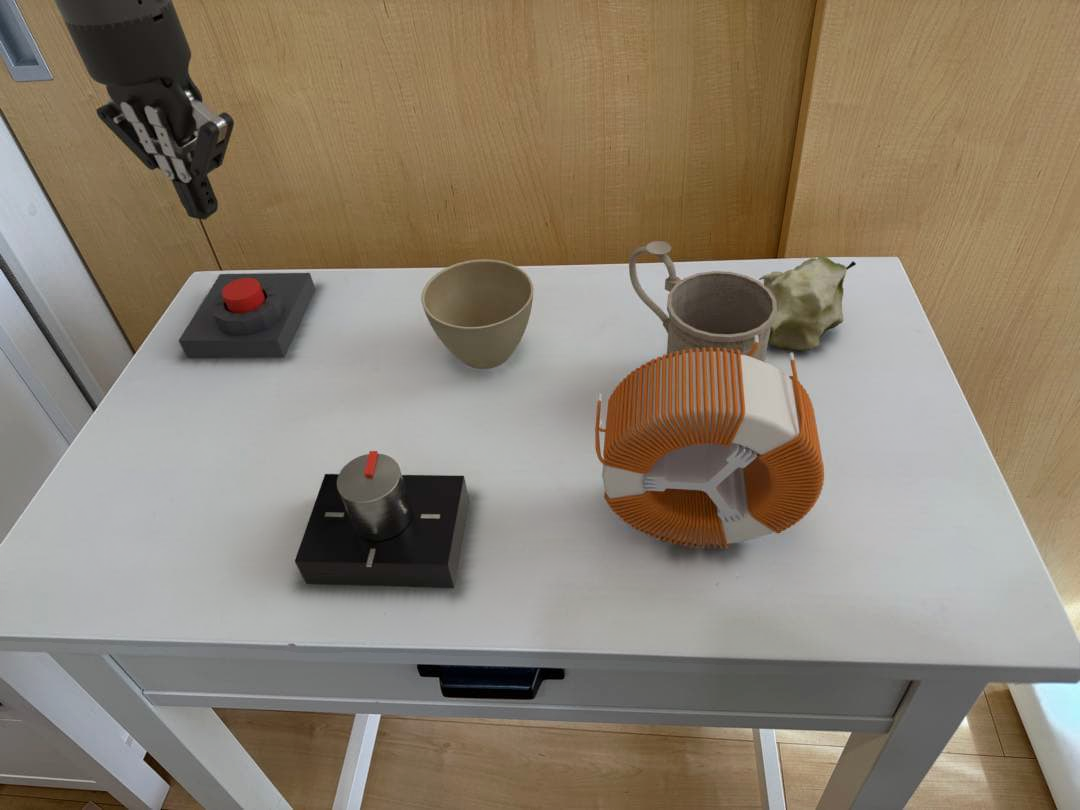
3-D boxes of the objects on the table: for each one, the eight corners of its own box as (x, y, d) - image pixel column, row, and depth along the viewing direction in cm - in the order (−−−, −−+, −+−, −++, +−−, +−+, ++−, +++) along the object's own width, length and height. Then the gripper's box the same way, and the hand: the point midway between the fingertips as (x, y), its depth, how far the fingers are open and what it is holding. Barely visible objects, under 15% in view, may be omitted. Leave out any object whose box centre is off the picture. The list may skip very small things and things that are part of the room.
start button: (258, 314, 73) (252, 299, 72) (222, 314, 74) (215, 300, 73) (270, 291, 76) (264, 277, 75) (235, 292, 76) (229, 277, 75)
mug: (791, 387, 67) (816, 273, 58) (722, 449, 62) (739, 336, 54) (662, 318, 74) (668, 210, 66) (593, 369, 70) (590, 259, 62)
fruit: (823, 307, 76) (858, 244, 70) (831, 376, 70) (870, 314, 64) (732, 289, 76) (759, 225, 70) (733, 357, 70) (762, 293, 64)
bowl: (426, 388, 70) (412, 328, 65) (443, 319, 77) (431, 259, 72) (535, 387, 69) (529, 326, 64) (541, 318, 76) (536, 257, 71)
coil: (802, 559, 54) (848, 414, 44) (593, 545, 56) (588, 403, 46) (792, 483, 59) (831, 337, 49) (599, 473, 61) (597, 330, 51)
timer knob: (407, 541, 54) (393, 499, 51) (346, 541, 55) (329, 500, 51) (416, 492, 57) (404, 449, 54) (359, 492, 58) (343, 450, 54)
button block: (284, 357, 74) (271, 325, 71) (187, 357, 75) (170, 326, 72) (315, 289, 82) (305, 258, 79) (227, 290, 83) (213, 259, 80)
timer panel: (305, 587, 56) (292, 563, 53) (335, 494, 62) (325, 469, 59) (453, 592, 54) (446, 567, 52) (469, 496, 61) (464, 471, 58)
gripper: (9, 13, 55) (118, 223, 67) (145, 28, 51) (234, 250, 63) (90, -19, 60) (178, 183, 72) (220, -8, 55) (290, 205, 68)
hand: (204, 214), depth 67 cm, fingers closed
